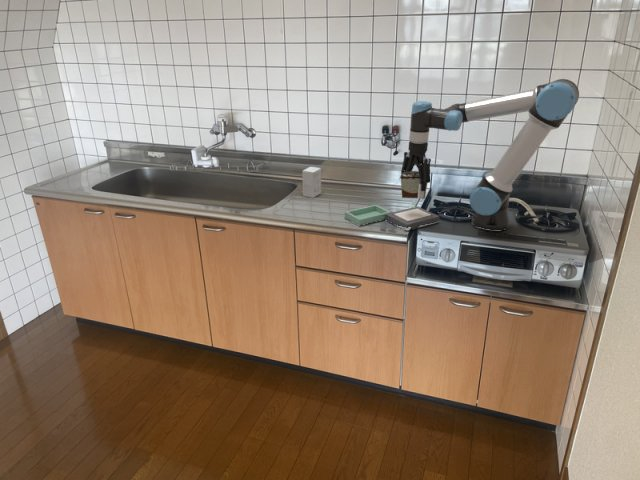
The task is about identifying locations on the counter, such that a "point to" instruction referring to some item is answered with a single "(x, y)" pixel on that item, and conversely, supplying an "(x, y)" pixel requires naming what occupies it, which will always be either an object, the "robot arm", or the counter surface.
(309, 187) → the small box
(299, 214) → the counter surface
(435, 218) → the base
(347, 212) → the trough tray
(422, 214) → the checker plate
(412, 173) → the food container
